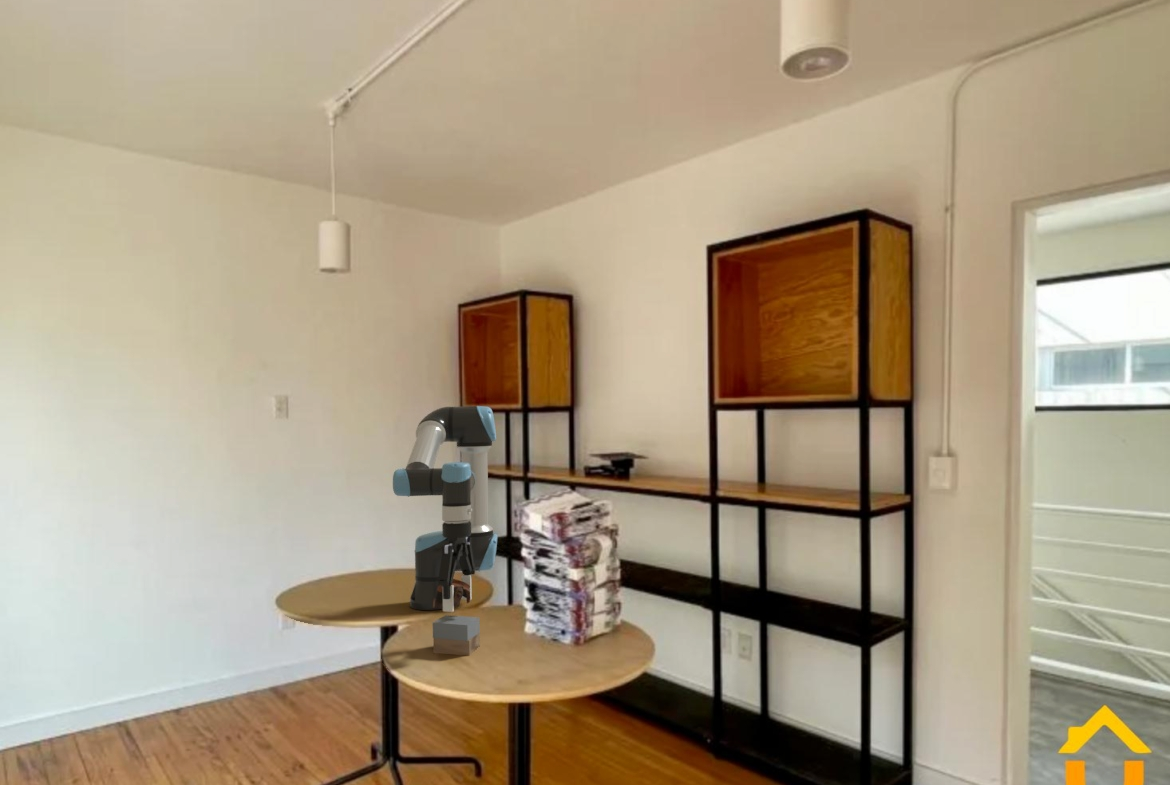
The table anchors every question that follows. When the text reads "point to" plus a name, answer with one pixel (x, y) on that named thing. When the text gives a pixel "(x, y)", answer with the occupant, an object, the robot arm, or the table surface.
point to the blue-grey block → (456, 627)
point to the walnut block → (456, 646)
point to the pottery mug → (459, 591)
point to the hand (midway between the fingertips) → (457, 605)
